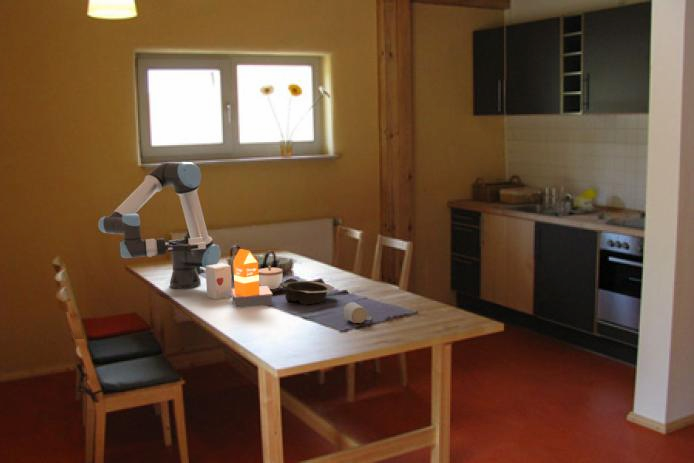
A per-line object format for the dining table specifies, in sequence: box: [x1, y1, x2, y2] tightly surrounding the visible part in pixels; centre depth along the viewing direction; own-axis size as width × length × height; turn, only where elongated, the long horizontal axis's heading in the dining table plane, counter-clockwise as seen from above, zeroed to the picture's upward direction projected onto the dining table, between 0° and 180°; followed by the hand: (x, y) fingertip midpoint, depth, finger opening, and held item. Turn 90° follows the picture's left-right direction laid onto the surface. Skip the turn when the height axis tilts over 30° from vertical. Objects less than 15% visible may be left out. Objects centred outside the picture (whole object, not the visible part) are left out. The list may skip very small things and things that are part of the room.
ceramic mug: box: [342, 301, 372, 324], centre depth 327 cm, size 11×8×8 cm
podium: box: [231, 285, 274, 309], centre depth 365 cm, size 17×17×5 cm
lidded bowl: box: [258, 265, 284, 290], centre depth 390 cm, size 13×13×11 cm
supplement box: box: [205, 262, 233, 300], centre depth 376 cm, size 9×9×15 cm
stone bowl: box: [280, 278, 335, 306], centre depth 364 cm, size 25×25×9 cm
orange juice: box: [232, 248, 260, 296], centre depth 358 cm, size 8×9×20 cm
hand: (204, 242), depth 362 cm, fingers open, 13 cm apart
